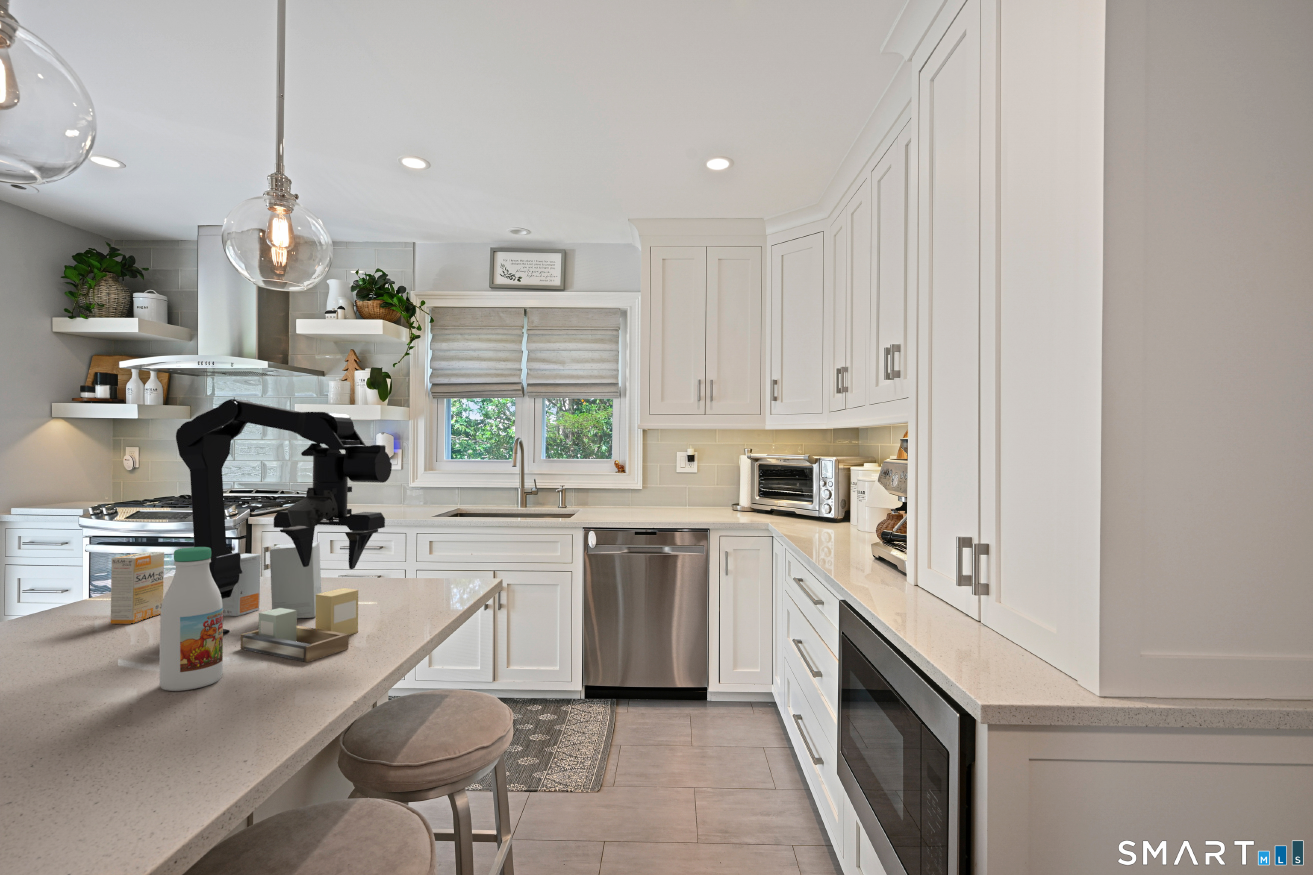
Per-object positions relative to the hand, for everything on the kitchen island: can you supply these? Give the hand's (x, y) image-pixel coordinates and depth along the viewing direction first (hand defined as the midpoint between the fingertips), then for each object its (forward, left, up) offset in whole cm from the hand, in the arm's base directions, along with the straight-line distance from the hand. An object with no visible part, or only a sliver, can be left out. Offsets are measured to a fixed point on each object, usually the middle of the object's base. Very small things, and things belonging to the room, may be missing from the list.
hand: (328, 567), depth 121 cm
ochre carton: (-2, +3, -13) cm, 14 cm away
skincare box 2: (-21, +9, -13) cm, 26 cm away
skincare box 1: (-34, +6, -13) cm, 37 cm away
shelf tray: (-1, -6, -13) cm, 14 cm away
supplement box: (-48, -6, -13) cm, 50 cm away
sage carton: (-6, -6, -13) cm, 16 cm away
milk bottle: (0, -23, -13) cm, 27 cm away
